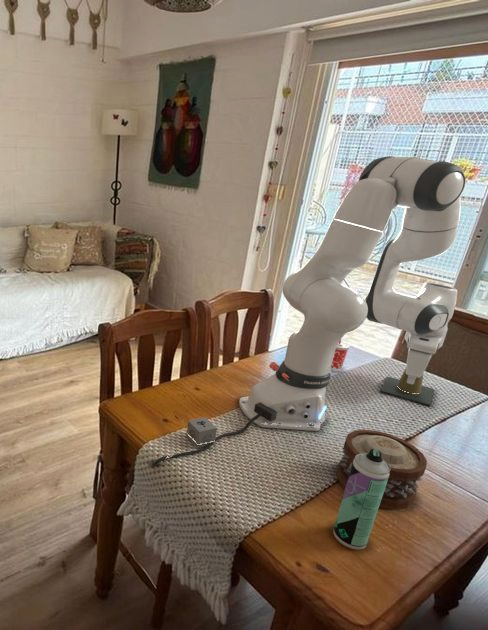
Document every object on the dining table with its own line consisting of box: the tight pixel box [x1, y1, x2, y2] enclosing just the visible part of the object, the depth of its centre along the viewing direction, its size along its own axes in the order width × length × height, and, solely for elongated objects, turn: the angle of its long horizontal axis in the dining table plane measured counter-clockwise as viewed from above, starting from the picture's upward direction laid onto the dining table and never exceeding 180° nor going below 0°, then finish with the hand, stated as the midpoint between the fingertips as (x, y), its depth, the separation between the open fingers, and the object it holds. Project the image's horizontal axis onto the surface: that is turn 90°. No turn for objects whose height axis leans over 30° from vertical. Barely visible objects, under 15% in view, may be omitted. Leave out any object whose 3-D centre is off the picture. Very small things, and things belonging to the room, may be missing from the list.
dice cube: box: [185, 416, 218, 450], centre depth 111 cm, size 5×5×5 cm
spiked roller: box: [336, 429, 428, 510], centre depth 95 cm, size 15×11×15 cm
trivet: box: [380, 376, 435, 407], centre depth 134 cm, size 12×12×1 cm
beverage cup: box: [330, 339, 351, 372], centre depth 146 cm, size 6×6×14 cm
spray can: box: [332, 449, 390, 551], centre depth 80 cm, size 6×6×20 cm
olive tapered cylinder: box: [396, 359, 429, 395], centre depth 132 cm, size 6×6×11 cm
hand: (411, 378), depth 133 cm, fingers open, 6 cm apart
